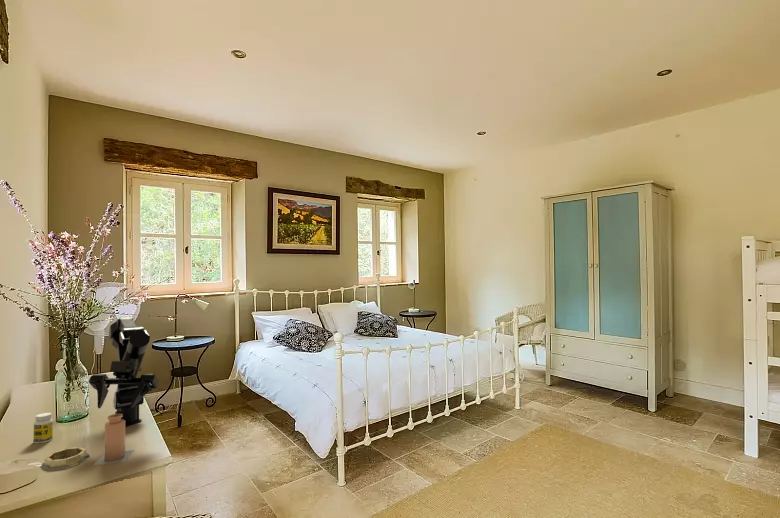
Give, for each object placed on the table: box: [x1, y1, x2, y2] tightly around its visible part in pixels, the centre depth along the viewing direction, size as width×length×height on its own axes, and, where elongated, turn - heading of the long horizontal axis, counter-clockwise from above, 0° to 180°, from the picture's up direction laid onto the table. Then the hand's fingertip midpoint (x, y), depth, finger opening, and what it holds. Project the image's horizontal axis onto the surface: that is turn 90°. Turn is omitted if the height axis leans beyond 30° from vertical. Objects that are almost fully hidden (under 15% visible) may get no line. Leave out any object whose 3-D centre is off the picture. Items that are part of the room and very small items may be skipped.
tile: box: [92, 449, 136, 466], centre depth 120 cm, size 8×8×1 cm
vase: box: [103, 413, 126, 461], centre depth 120 cm, size 5×5×12 cm
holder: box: [40, 446, 91, 472], centre depth 118 cm, size 11×11×3 cm
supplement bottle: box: [32, 412, 54, 445], centre depth 133 cm, size 5×5×8 cm
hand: (115, 407), depth 126 cm, fingers open, 9 cm apart
